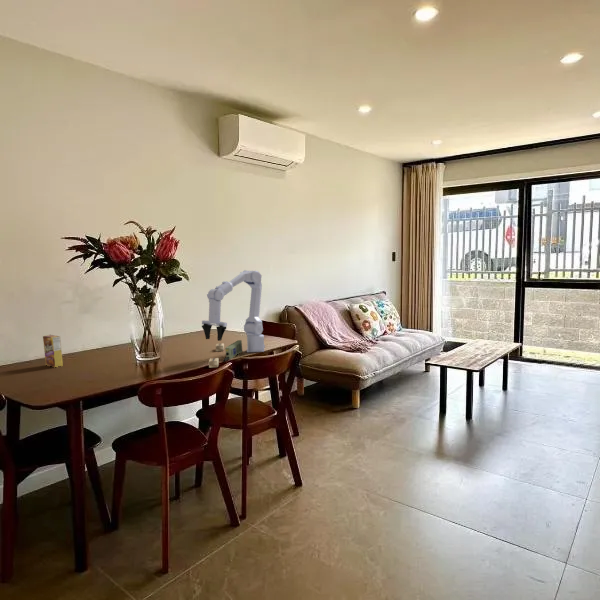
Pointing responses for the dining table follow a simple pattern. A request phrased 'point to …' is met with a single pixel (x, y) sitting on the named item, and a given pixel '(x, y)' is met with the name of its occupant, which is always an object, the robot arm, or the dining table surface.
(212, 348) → the dining table surface
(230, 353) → the handheld radio
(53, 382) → the dining table surface
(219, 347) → the taped cardboard parcel
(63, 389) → the dining table surface
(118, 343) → the dining table surface
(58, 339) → the candy box
